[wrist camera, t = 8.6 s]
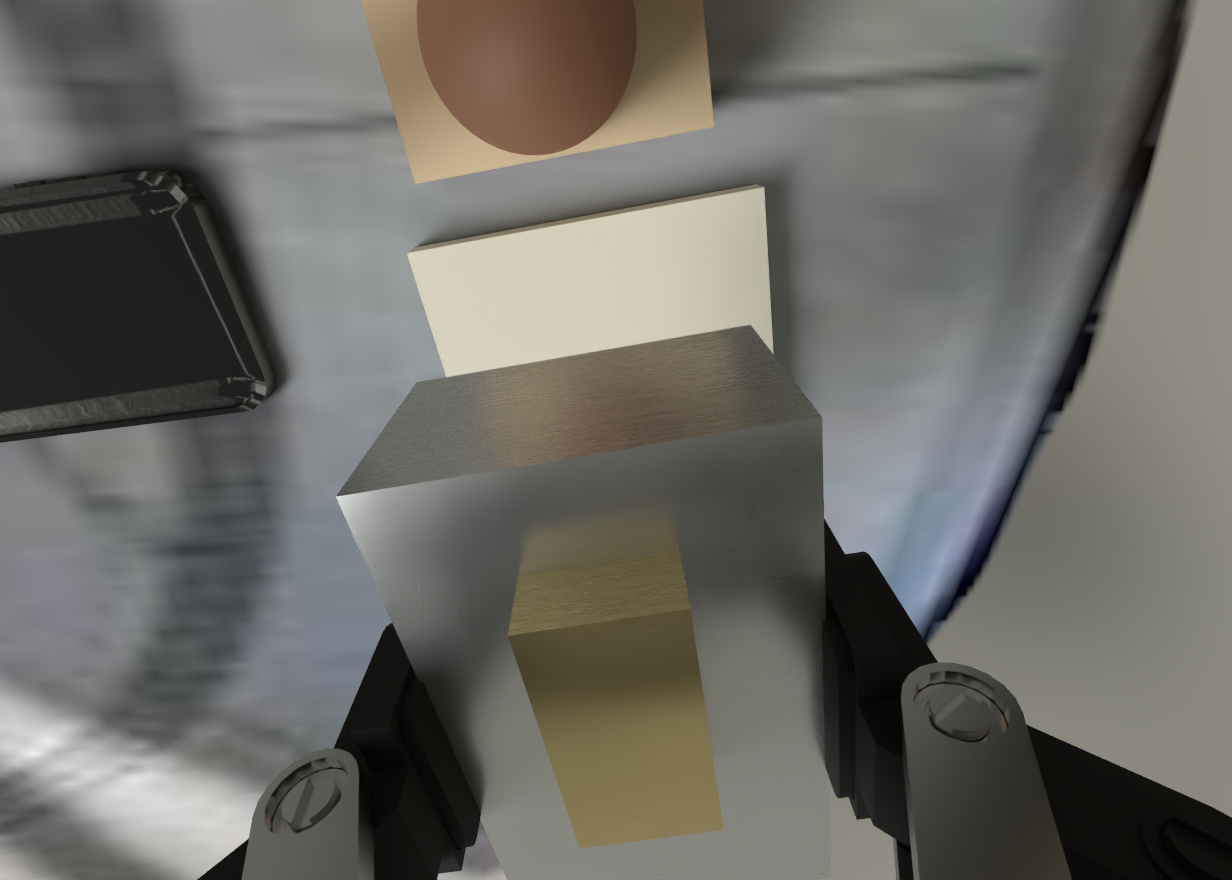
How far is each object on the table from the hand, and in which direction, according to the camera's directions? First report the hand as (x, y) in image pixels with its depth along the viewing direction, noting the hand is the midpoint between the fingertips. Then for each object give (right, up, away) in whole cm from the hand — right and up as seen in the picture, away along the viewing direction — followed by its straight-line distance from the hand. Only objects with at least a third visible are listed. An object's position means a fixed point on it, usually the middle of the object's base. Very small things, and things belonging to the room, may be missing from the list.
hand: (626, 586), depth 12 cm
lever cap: (0, 0, 0) cm, 0 cm away
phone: (-20, +7, +9) cm, 23 cm away
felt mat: (0, +5, +10) cm, 12 cm away
